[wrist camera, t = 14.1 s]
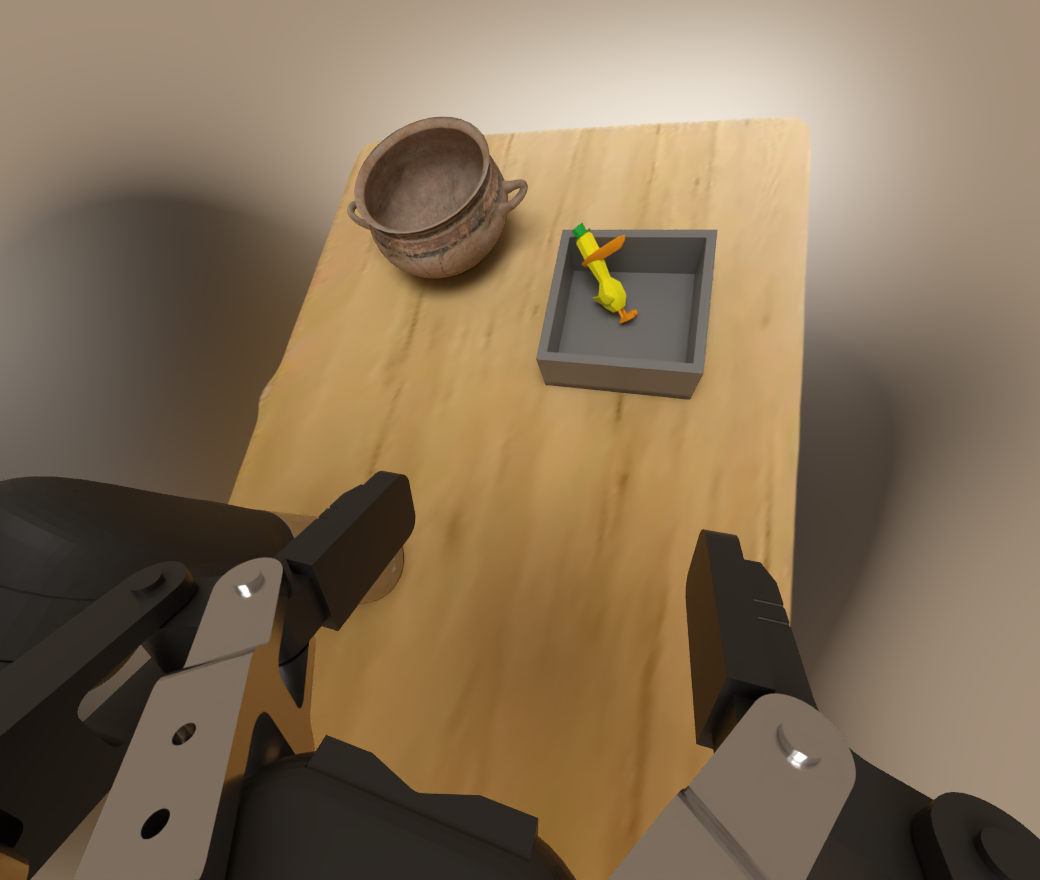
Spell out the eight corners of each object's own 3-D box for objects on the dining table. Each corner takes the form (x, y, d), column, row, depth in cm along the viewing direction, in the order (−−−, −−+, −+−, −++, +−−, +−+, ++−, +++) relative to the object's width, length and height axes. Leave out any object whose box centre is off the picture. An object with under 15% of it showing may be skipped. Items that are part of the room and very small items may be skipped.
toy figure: (660, 300, 46) (614, 200, 43) (652, 310, 44) (602, 205, 41) (611, 324, 51) (566, 236, 48) (601, 334, 48) (553, 242, 45)
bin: (545, 384, 50) (536, 359, 43) (568, 269, 53) (562, 229, 47) (689, 399, 45) (703, 373, 39) (702, 272, 49) (717, 229, 42)
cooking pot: (543, 185, 58) (527, 96, 47) (533, 297, 53) (513, 227, 42) (391, 204, 64) (344, 128, 52) (371, 306, 59) (313, 247, 48)
